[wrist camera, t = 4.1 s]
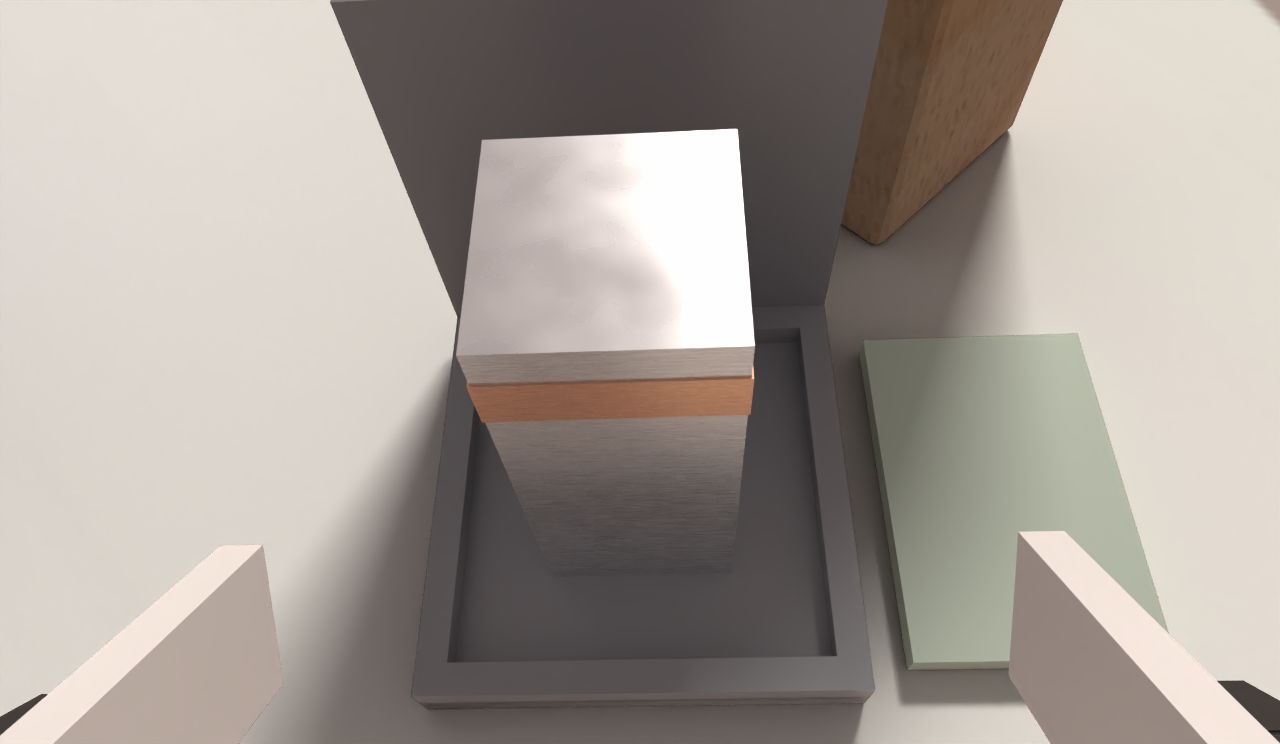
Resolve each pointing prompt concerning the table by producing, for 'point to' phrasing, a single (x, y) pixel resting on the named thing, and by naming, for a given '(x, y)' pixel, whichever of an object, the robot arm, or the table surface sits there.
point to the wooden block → (939, 100)
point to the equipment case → (782, 321)
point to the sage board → (989, 482)
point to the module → (614, 344)
